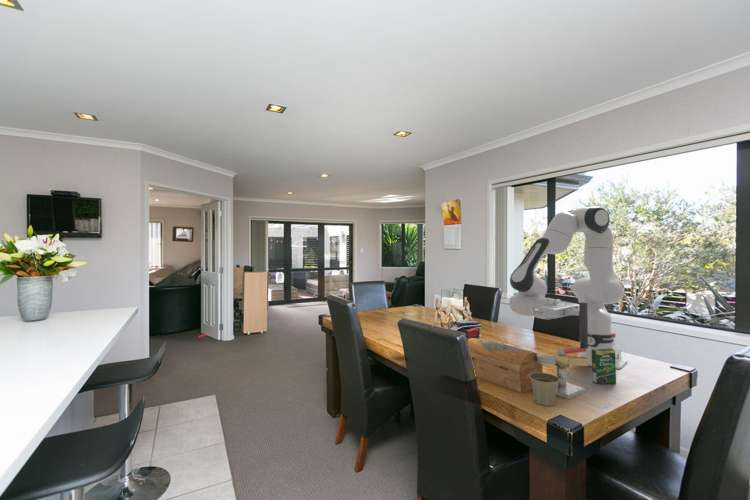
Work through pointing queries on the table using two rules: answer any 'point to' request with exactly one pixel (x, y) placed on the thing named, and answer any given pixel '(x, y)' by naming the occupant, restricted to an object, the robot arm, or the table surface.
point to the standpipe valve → (564, 372)
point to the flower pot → (544, 388)
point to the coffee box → (603, 366)
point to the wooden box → (503, 364)
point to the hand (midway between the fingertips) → (580, 313)
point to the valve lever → (582, 332)
